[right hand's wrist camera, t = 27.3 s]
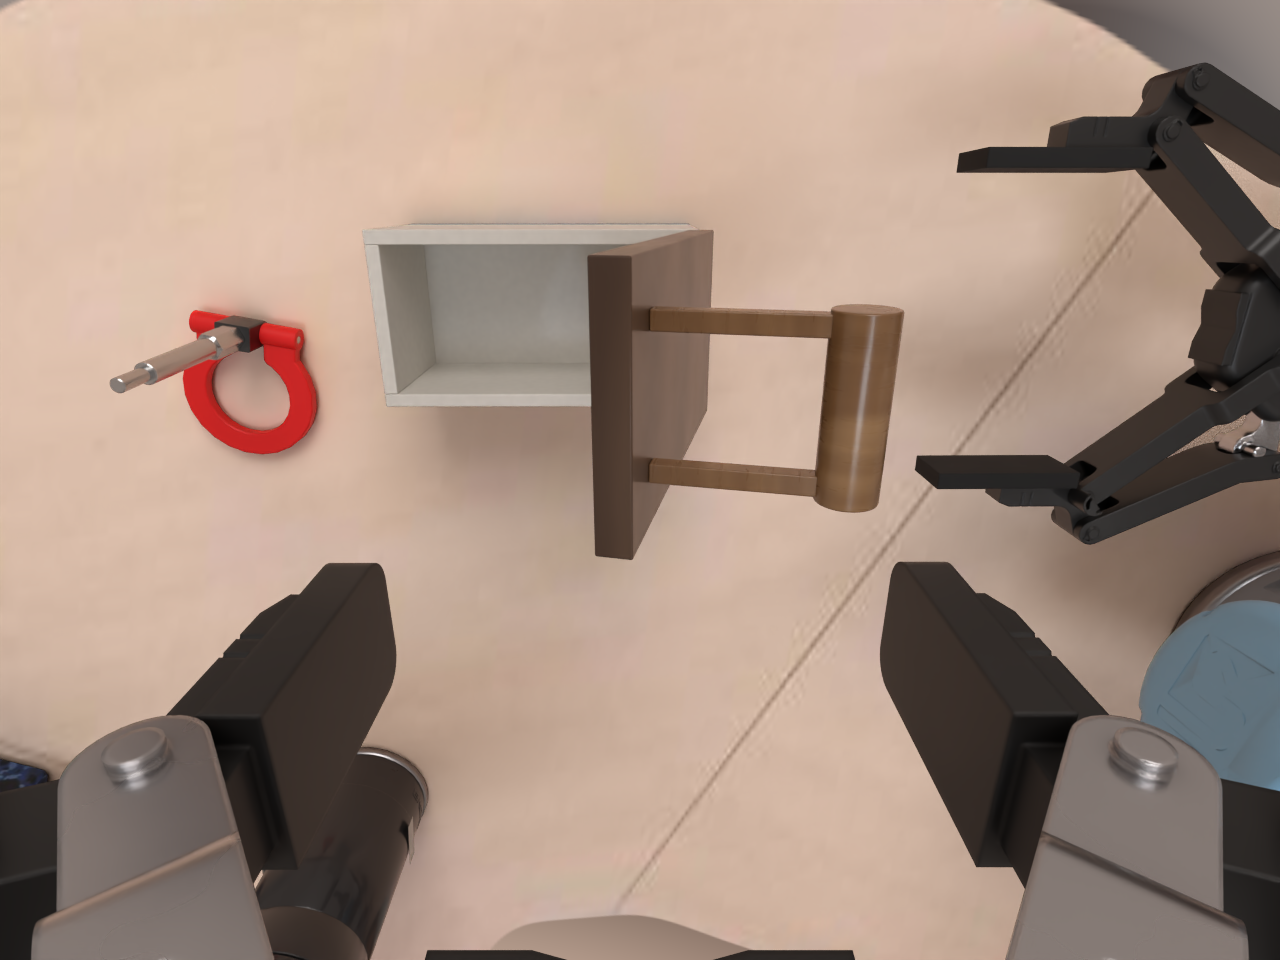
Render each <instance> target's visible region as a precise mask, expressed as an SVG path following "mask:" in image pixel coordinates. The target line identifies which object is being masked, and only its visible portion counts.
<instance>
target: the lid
mask: <svg viewBox="0 0 1280 960" xmlns="http://www.w3.org/2000/svg"><path fill="white" fill-rule="evenodd" d="M712 257H713V230H687V231H683V232H679V233H675V234H671V235H667V236H663V237H659V238H655V239H651V240H647V241H643V242H639V243H635V244H631V245H627V246H623V247H619V248H615V249H611V250H607V251H603V252H599V253H595V254H591V255H588V257H587V268H588V305H589V343H590V380H591V418H592V455H593V493H594V530H595V555H596V556H600V557H609V558H618V559H628V560H632V559H633V558H634V556H635V554H636V552H637V550H638V548H639V546H640V544H641V542H642V540H643V538H644V536H645V534H646V532H647V530H648V528H649V526H650V524H651V522H652V520H653V518H654V515H655V513H656V511H657V509H658V507H659V505H660V503H661V501H662V499H663V497H664V495H665V493H666V491H667V489H668V487H669V485H680V486H692V487H703V488H715V489H727V490H739V491H751V492H763V493H775V494H787V495H799V496H811V497H813V499H814V500H815V502H817V503H818V504H819V505H821V506H823V507H825V508H828V509H832V510H836V511H841V512H854V513H855V512H865V511H870V510H872V509H874V508H875V507H877V505H878V503H879V496H880V488H881V481H882V473H883V466H884V459H885V451H886V444H887V437H888V429H889V422H890V415H891V407H892V400H893V392H894V385H895V378H896V370H897V363H898V356H899V348H900V341H901V333H902V326H903V319H904V311H903V310H901V309H899V308H895V307H889V306H881V305H863V304H853V305H839V306H835V307H833V308H832V309H831V312H827V311H795V310H763V309H731V308H711V285H712ZM710 334H727V335H753V336H778V337H804V338H828V345H827V355H826V365H825V376H824V386H823V396H822V406H821V417H820V427H819V437H818V447H817V457H816V468H815V470H806V469H793V468H780V467H767V466H754V465H741V464H728V463H715V462H702V461H689V460H682V459H683V457H684V455H685V453H686V451H687V449H688V447H689V445H690V443H691V441H692V439H693V437H694V435H695V433H696V431H697V429H698V427H699V425H700V423H701V421H702V419H703V417H704V415H705V413H706V411H707V396H708V369H709V341H710Z"/></svg>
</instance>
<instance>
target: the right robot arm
mask: <svg viewBox="0 0 1280 960" xmlns="http://www.w3.org/2000/svg"><path fill="white" fill-rule="evenodd" d="M223 654H224V655H223V658H218V659H217V661H216V662H215V663H214V664H213V665H212V666H211V667H210V668H209V669H208V670H207V671H206V673H205V674H204V675H203V676H202V677H201V678H200V679H199V680H198V681H197V682H196V683H195V685H194V686H193V687H192V688H191V689H190V690H189V691H188V692H187V693H186V694H185V695H184V696H183V698H182V699H181V700H180V701H179V702H178V703H177V704H176V705H175V706H174V707H173V708H172V710H171V711H170V712H169V713H168V714H167V715H166V716H160V717H155V718H150V719H146V720H142V721H139V722H136V723H133V724H130V725H128V726H125V727H122V728H120V729H118V730H116V731H114V732H112V733H110V734H108V735H106V736H104V737H102V738H101V739H99V740H97V741H96V742H94V743H93V744H91V745H90V746H88V747H87V748H86V749H84V750H83V751H82V752H81V753H80V754H78V755H77V756H76V757H75V758H74V759H73V760H72V761H71V762H70V763H69V765H68V766H67V767H66V769H65V770H64V771H63V773H62V775H61V777H60V779H58V780H54V781H50V782H45V783H40V784H36V785H31V786H27V787H22V788H17V789H13V790H8V791H4V792H0V960H370V959H371V956H372V954H373V951H374V948H375V945H376V942H377V939H378V937H379V934H380V931H381V928H382V925H383V923H384V920H385V917H386V914H387V911H388V908H389V906H390V903H391V900H392V897H393V894H394V892H395V889H396V886H397V883H398V880H399V877H400V875H401V872H402V869H403V866H404V863H405V861H406V858H407V855H408V852H409V854H410V863H411V860H412V857H413V854H414V835H415V832H416V829H417V828H418V826H419V823H420V820H421V817H422V815H423V813H424V810H425V808H426V805H427V800H428V790H427V786H426V783H425V781H424V778H423V777H422V775H421V774H420V772H419V771H418V770H417V769H416V768H415V767H414V766H413V765H412V764H411V763H410V762H408V761H407V760H406V759H404V758H402V757H401V756H399V755H397V754H394V753H392V752H389V751H386V750H382V749H378V748H370V747H361V745H362V743H363V741H364V739H365V737H366V736H367V734H368V732H369V730H370V728H371V726H372V724H373V722H374V720H375V718H376V716H377V714H378V712H379V710H380V708H381V706H382V704H383V702H384V700H385V698H386V696H387V694H388V692H389V690H390V688H391V686H392V683H393V679H394V675H395V668H396V645H395V638H394V632H393V625H392V618H391V612H390V605H389V599H388V592H387V585H386V579H385V574H384V571H383V569H382V567H381V566H380V565H379V564H378V563H328V564H326V565H325V566H324V567H323V568H322V569H321V570H320V571H319V573H318V574H317V575H316V576H315V577H314V578H313V580H312V581H311V582H310V583H309V584H308V585H307V586H306V588H305V589H304V590H303V591H302V592H301V593H300V595H289V596H288V597H286V598H284V599H283V600H281V601H279V602H278V603H276V604H274V605H273V606H271V607H269V608H268V609H266V610H264V611H263V612H261V613H260V614H259V615H258V616H257V617H256V618H255V619H254V620H253V621H252V622H251V624H250V625H249V626H248V627H247V628H246V629H245V630H244V631H243V632H242V633H241V634H240V639H236V640H235V641H234V642H233V643H232V644H231V645H230V646H229V648H228V649H227V650H226V651H225V652H224V653H223ZM880 664H881V672H882V677H883V680H884V683H885V686H886V688H887V691H888V693H889V694H890V696H891V698H892V700H893V702H894V704H895V706H896V708H897V710H898V712H899V714H900V716H901V718H902V720H903V722H904V724H905V726H906V728H907V730H908V732H909V734H910V736H911V738H912V740H913V742H914V744H915V746H916V748H917V750H918V752H919V754H920V756H921V758H922V760H923V762H924V764H925V766H926V768H927V770H928V772H929V774H930V776H931V778H932V780H933V782H934V784H935V786H936V788H937V790H938V792H939V794H940V796H941V798H942V800H943V802H944V804H945V806H946V808H947V810H948V812H949V813H950V815H951V817H952V819H953V821H954V823H955V825H956V827H957V829H958V831H959V833H960V835H961V837H962V839H963V841H964V843H965V845H966V847H967V849H968V851H969V853H970V855H971V857H972V859H973V861H974V863H975V865H976V867H1013V868H1014V870H1015V872H1016V874H1017V876H1018V877H1019V879H1020V881H1021V883H1022V884H1023V886H1024V888H1025V891H1024V895H1023V898H1022V902H1021V905H1020V909H1019V913H1018V916H1017V920H1016V923H1015V927H1014V931H1013V934H1012V938H1011V941H1010V945H1009V948H1008V952H1007V956H1006V959H1005V960H1280V791H1277V790H1272V789H1268V788H1263V787H1259V786H1254V785H1249V784H1245V783H1240V782H1235V781H1231V780H1226V779H1222V778H1220V777H1219V775H1218V773H1217V771H1216V770H1215V769H1214V767H1213V766H1212V765H1211V763H1210V762H1209V761H1208V760H1207V759H1206V758H1205V757H1204V756H1203V755H1202V754H1200V753H1199V752H1198V751H1197V750H1196V749H1194V748H1193V747H1192V746H1190V745H1189V744H1187V743H1186V742H1184V741H1183V740H1181V739H1179V738H1178V737H1176V736H1174V735H1172V734H1170V733H1168V732H1166V731H1164V730H1162V729H1160V728H1158V727H1155V726H1152V725H1150V724H1147V723H1144V722H1141V721H1138V720H1134V719H1130V718H1125V717H1120V716H1112V715H1109V714H1108V713H1107V712H1106V711H1105V710H1104V709H1103V708H1102V706H1101V705H1100V704H1099V703H1098V702H1097V701H1096V700H1095V699H1094V698H1093V697H1092V695H1091V694H1090V693H1089V692H1088V691H1087V690H1086V689H1085V688H1084V687H1083V686H1082V685H1081V683H1080V682H1079V681H1078V680H1077V679H1076V678H1075V677H1074V676H1073V675H1072V674H1071V672H1070V671H1069V670H1068V669H1067V668H1066V667H1065V666H1064V665H1063V664H1062V663H1061V661H1060V660H1059V659H1058V658H1057V657H1056V656H1052V655H1051V650H1050V649H1049V648H1048V647H1047V646H1046V645H1045V644H1044V643H1043V642H1042V641H1041V639H1040V638H1035V633H1034V632H1033V631H1032V630H1031V629H1030V627H1029V626H1028V625H1027V624H1026V623H1025V622H1024V621H1023V620H1022V619H1021V618H1020V616H1019V615H1018V614H1017V613H1016V612H1015V611H1013V610H1012V609H1010V608H1008V607H1007V606H1005V605H1003V604H1002V603H1000V602H998V601H997V600H995V599H993V598H992V597H990V596H988V595H987V594H985V593H975V592H974V591H973V589H972V588H971V587H970V586H969V585H968V584H967V582H966V581H965V580H964V579H963V578H962V576H961V575H960V574H959V573H958V572H957V571H956V569H955V568H954V567H953V566H952V565H951V564H950V563H948V562H898V563H897V564H896V565H895V566H894V568H893V570H892V574H891V579H890V585H889V592H888V599H887V605H886V612H885V619H884V626H883V632H882V639H881V646H880ZM261 870H262V872H263V876H262V878H261V879H260V881H259V883H258V885H257V887H256V888H254V882H255V880H256V878H257V877H258V875H259V873H260V871H261ZM425 960H565V959H562V958H558V957H554V956H551V955H547V954H543V953H540V952H536V951H533V950H427V954H426V958H425ZM715 960H855V958H854V954H853V950H748V951H744V952H740V953H737V954H733V955H729V956H726V957H722V958H718V959H715Z"/></svg>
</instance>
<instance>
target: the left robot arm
mask: <svg viewBox="0 0 1280 960" xmlns="http://www.w3.org/2000/svg"><path fill="white" fill-rule="evenodd" d="M1142 99H1143V103H1142V104H1141V106H1140V108H1139V110H1138V111H1137V112H1136V113H1135V114H1134V115H1133V116H1132V117H1080V118H1076V119H1072V120H1068V121H1063V122H1061V123H1059V124H1056V125H1054V126H1051V127H1050V133H1049V138H1048V144H1047V147H987V148H982V149H978V150H973V151H969V152H964V153H960V154H959V159H958V166H957V173H1108V172H1117V171H1126V170H1136V171H1137V172H1138V173H1139V175H1140V176H1141V177H1142V178H1143V179H1144V180H1145V182H1146V183H1147V184H1148V185H1149V186H1150V188H1151V189H1152V190H1153V191H1154V192H1155V193H1156V195H1157V196H1158V197H1159V198H1160V199H1161V200H1162V202H1163V203H1164V204H1165V205H1166V206H1167V207H1168V209H1169V210H1170V211H1171V212H1172V213H1173V214H1174V216H1175V217H1176V218H1177V219H1178V220H1179V221H1180V223H1181V224H1182V225H1183V226H1184V227H1185V228H1186V230H1187V231H1188V232H1189V233H1190V234H1191V235H1192V237H1193V238H1194V239H1195V240H1196V241H1197V242H1198V244H1199V245H1200V246H1201V248H1202V250H1201V251H1200V255H1201V256H1202V258H1203V259H1204V260H1205V261H1206V262H1207V264H1208V265H1209V266H1210V267H1211V268H1212V269H1213V271H1214V272H1215V273H1216V274H1217V275H1218V276H1219V278H1220V279H1219V280H1218V281H1217V282H1216V284H1215V285H1214V287H1213V289H1206V290H1205V294H1204V298H1203V302H1202V306H1201V325H1200V327H1199V329H1198V331H1197V333H1196V335H1195V337H1194V339H1193V341H1192V344H1191V347H1190V351H1189V355H1188V358H1192V359H1194V365H1195V366H1194V367H1192V368H1191V369H1189V370H1188V371H1186V372H1185V373H1183V374H1182V375H1181V376H1179V377H1178V378H1176V379H1175V380H1173V381H1172V382H1170V383H1169V384H1168V385H1167V386H1166V387H1165V393H1164V395H1162V396H1161V397H1160V398H1158V399H1157V400H1155V401H1154V402H1152V403H1151V404H1149V405H1148V406H1147V407H1145V408H1144V409H1142V410H1141V411H1139V412H1138V413H1136V414H1135V415H1134V416H1132V417H1131V418H1129V419H1128V420H1126V421H1125V422H1123V423H1122V424H1121V425H1119V426H1118V427H1116V428H1115V429H1113V430H1112V431H1110V432H1109V433H1108V434H1106V435H1105V436H1103V437H1102V438H1100V439H1099V440H1097V441H1096V442H1095V443H1093V444H1092V445H1090V446H1089V447H1087V448H1086V449H1084V450H1083V451H1082V452H1080V453H1079V454H1077V455H1076V456H1074V457H1073V458H1071V459H1070V460H1069V461H1067V462H1066V463H1064V464H1063V463H1061V462H1059V461H1057V460H1056V459H1054V458H1052V457H1050V456H1048V455H952V456H917V460H916V467H915V470H916V471H917V472H918V473H919V474H920V475H921V476H923V477H924V478H925V479H926V480H927V481H928V482H930V483H931V484H932V485H933V486H934V487H935V488H937V489H986V491H985V492H986V493H987V494H988V495H990V496H991V497H992V498H994V499H995V500H996V501H998V502H999V503H1001V504H1004V505H1006V506H1054V509H1053V511H1052V514H1051V518H1052V520H1053V522H1054V523H1056V524H1057V525H1059V526H1060V527H1061V528H1063V529H1064V530H1066V531H1067V532H1068V533H1070V534H1071V535H1073V536H1074V537H1075V538H1077V539H1078V540H1080V541H1081V542H1083V543H1085V544H1095V543H1097V542H1100V541H1102V540H1104V539H1107V538H1109V537H1112V536H1114V535H1116V534H1119V533H1121V532H1124V531H1126V530H1128V529H1131V528H1133V527H1136V526H1138V525H1140V524H1143V523H1145V522H1148V521H1150V520H1152V519H1155V518H1157V517H1160V516H1162V515H1164V514H1167V513H1169V512H1172V511H1174V510H1176V509H1179V508H1181V507H1184V506H1186V505H1188V504H1191V503H1193V502H1196V501H1198V500H1200V499H1203V498H1205V497H1208V496H1210V495H1212V494H1215V493H1217V492H1219V491H1222V490H1224V489H1227V488H1229V487H1231V486H1234V485H1236V484H1239V483H1243V482H1253V481H1262V480H1271V479H1278V478H1280V452H1277V449H1278V444H1279V439H1280V230H1279V229H1276V228H1274V227H1272V226H1271V225H1270V224H1269V223H1268V221H1267V220H1266V219H1265V218H1264V217H1263V215H1262V214H1261V213H1260V212H1259V210H1258V209H1257V208H1256V207H1255V205H1254V204H1253V203H1252V202H1251V201H1250V199H1249V198H1248V197H1247V196H1246V194H1245V193H1244V192H1243V191H1242V190H1241V188H1240V187H1239V186H1238V185H1237V183H1236V182H1235V181H1234V180H1233V178H1232V177H1231V176H1230V175H1229V174H1228V172H1227V171H1226V170H1225V169H1224V167H1223V166H1222V165H1221V164H1220V162H1219V161H1218V160H1217V159H1216V158H1215V156H1214V155H1213V154H1212V153H1211V151H1210V150H1209V149H1208V148H1207V147H1206V145H1205V144H1207V145H1208V146H1210V147H1211V148H1213V149H1215V150H1216V151H1218V152H1219V153H1221V154H1222V155H1224V156H1225V157H1227V158H1229V159H1230V160H1232V161H1233V162H1235V163H1236V164H1238V165H1239V166H1241V167H1243V168H1244V169H1246V170H1247V171H1249V172H1250V173H1252V174H1253V175H1255V176H1256V177H1258V178H1260V179H1261V180H1263V181H1265V182H1267V183H1269V184H1271V185H1274V186H1276V187H1279V188H1280V110H1278V109H1277V108H1275V107H1274V106H1272V105H1271V104H1269V103H1268V102H1266V101H1265V100H1263V99H1262V98H1260V97H1259V96H1257V95H1256V94H1254V93H1253V92H1251V91H1250V90H1248V89H1247V88H1245V87H1244V86H1242V85H1241V84H1239V83H1238V82H1236V81H1235V80H1233V79H1232V78H1230V77H1229V76H1227V75H1226V74H1224V73H1223V72H1221V71H1220V70H1218V69H1217V68H1215V67H1214V66H1213V65H1211V64H1208V63H1200V64H1196V65H1192V66H1189V67H1185V68H1182V69H1178V70H1175V71H1171V72H1168V73H1164V74H1161V75H1157V76H1155V77H1153V78H1151V79H1150V80H1149V81H1148V82H1147V83H1146V84H1145V86H1144V88H1143V91H1142ZM1203 142H1204V143H1205V144H1204V143H1203ZM1212 387H1213V388H1214V389H1215V390H1216V391H1217V392H1215V391H1211V390H1209V389H1211V388H1212ZM1244 414H1245V415H1246V419H1245V421H1244V423H1243V424H1242V425H1241V426H1240V427H1239V428H1237V429H1235V430H1233V431H1230V432H1228V433H1223V432H1221V433H1218V434H1217V435H1216V436H1215V437H1214V442H1213V443H1207V444H1203V445H1199V446H1195V447H1193V448H1190V449H1187V450H1185V451H1183V452H1180V453H1178V454H1176V455H1173V456H1171V457H1169V456H1170V455H1172V454H1173V453H1175V452H1176V451H1178V450H1179V449H1180V448H1182V447H1183V446H1185V445H1186V444H1188V443H1189V442H1191V441H1192V440H1194V439H1195V438H1197V437H1198V436H1200V435H1201V434H1203V433H1204V432H1206V431H1207V430H1209V429H1210V428H1212V427H1214V426H1216V425H1223V424H1228V423H1231V422H1233V421H1235V420H1237V419H1238V418H1240V417H1241V416H1243V415H1244ZM1167 457H1169V458H1167ZM1139 708H1140V710H1141V712H1142V715H1141V722H1144V723H1147V724H1150V725H1152V726H1155V727H1158V728H1160V729H1162V730H1164V731H1166V732H1168V733H1170V734H1172V735H1174V736H1176V737H1178V738H1179V739H1181V740H1183V741H1184V742H1186V743H1187V744H1189V745H1190V746H1192V747H1193V748H1194V749H1196V750H1197V751H1198V752H1199V753H1200V754H1202V755H1203V756H1204V757H1205V758H1206V759H1207V760H1208V761H1209V762H1210V763H1211V765H1212V766H1213V767H1214V769H1215V770H1216V771H1217V773H1218V775H1219V777H1220V778H1222V779H1226V780H1231V781H1235V782H1240V783H1245V784H1249V785H1254V786H1259V787H1263V788H1268V789H1272V790H1277V791H1280V552H1275V553H1271V554H1267V555H1264V556H1261V557H1258V558H1255V559H1253V560H1250V561H1248V562H1246V563H1244V564H1242V565H1240V566H1238V567H1236V568H1234V569H1232V570H1230V571H1229V572H1227V573H1225V574H1224V575H1222V576H1221V577H1220V578H1218V579H1217V580H1215V581H1214V582H1213V583H1212V584H1210V585H1209V586H1208V587H1207V588H1206V589H1205V590H1203V591H1202V592H1201V593H1200V594H1199V595H1198V596H1197V597H1196V599H1195V600H1194V601H1193V602H1192V603H1191V604H1190V606H1189V607H1188V608H1187V609H1186V611H1185V612H1184V614H1183V615H1182V617H1181V619H1180V620H1179V622H1178V624H1177V626H1176V628H1175V631H1174V632H1173V633H1172V634H1171V635H1170V636H1169V637H1168V638H1167V639H1166V640H1165V642H1164V643H1163V644H1162V645H1161V647H1160V648H1159V650H1158V651H1157V653H1156V654H1155V656H1154V658H1153V659H1152V661H1151V663H1150V665H1149V667H1148V670H1147V672H1146V675H1145V677H1144V681H1143V684H1142V688H1141V692H1140V699H1139Z"/></svg>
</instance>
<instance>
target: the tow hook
mask: <svg viewBox="0 0 1280 960" xmlns="http://www.w3.org/2000/svg"><path fill="white" fill-rule="evenodd" d="M189 325H190V329H191V330H192V331H193V332H196V333H197V340H196V341H194V342H191V343H189V344H186V345H184V346H181V347H179V348H176V349H174V350H171V351H168V352H166V353H163V354H161V355H158V356H156V357H153V358H151V359H148V360H146V361H143V362H141V363H138V364H137V365H136V366H135V368H134V370H132V371H130V372H127V373H125V374H123V375H120V376H118V377H115V378H113V379H111V380H110V387H111V388H112V390H114V391H115V392H117V393H123V392H126V391H128V390H130V389H133V388H135V387H137V386H139V385H142V384H146V385H152V384H155V383H157V382H159V381H161V380H164V379H166V378H168V377H170V376H173V375H175V374H177V373H179V372H181V371H184V374H183V383H184V391H185V396H186V398H187V401H188V403H189V406H190V408H191V410H192V412H193V413H194V415H195V416H196V418H197V419H198V420H199V422H200V423H201V425H202V426H203V427H205V428H206V429H207V430H208V431H209V432H210V433H211V434H212V435H213V436H214V437H215V438H217V439H219V440H220V441H222V442H224V443H225V444H227V445H228V446H230V447H233V448H236V449H239V450H241V451H244V452H249V453H256V454H269V453H278V452H280V451H282V450H285V449H287V448H290V447H292V446H293V445H294V444H295V443H297V442H298V441H299V440H300V439H301V438H303V437H304V436H305V435H306V434H307V432H308V431H309V429H310V427H311V426H312V424H313V422H314V418H315V414H316V410H317V404H316V392H315V389H314V386H313V383H312V380H311V377H310V375H309V374H308V372H307V370H306V369H305V367H304V365H303V364H302V362H301V361H300V349H301V348H302V346H303V342H304V334H303V331H302V330H301V329H296V328H291V327H285V326H280V325H274V324H269V323H267V322H265V321H261V320H256V319H250V318H245V317H239V316H225V315H220V314H214V313H209V312H203V311H198V310H195V311H193V312H192V313H191V315H190V319H189ZM262 346H264V360H265V362H266V363H267V364H268V365H269V366H271V367H272V368H273V369H274V370H275V371H276V372H277V373H278V374H279V375H280V377H281V378H282V380H283V381H284V383H285V385H286V387H287V390H288V393H289V396H290V409H289V413H288V416H287V418H286V419H285V421H284V423H283V424H282V425H280V426H279V427H277V428H274V429H272V430H264V431H260V430H252V429H249V428H246V427H244V426H241V425H239V424H238V423H236V422H235V421H233V420H231V419H230V418H229V417H228V416H227V415H226V414H225V413H224V412H223V411H222V409H221V408H220V406H219V405H218V404H217V402H216V399H215V397H214V394H213V391H212V383H211V381H212V375H213V371H214V369H215V368H216V366H217V364H218V363H219V362H220V361H221V360H222V359H223V358H225V357H227V356H229V355H231V354H232V353H233V352H236V351H242V352H248V353H249V352H251V351H253V350H255V349H257V348H260V347H262Z"/></svg>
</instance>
